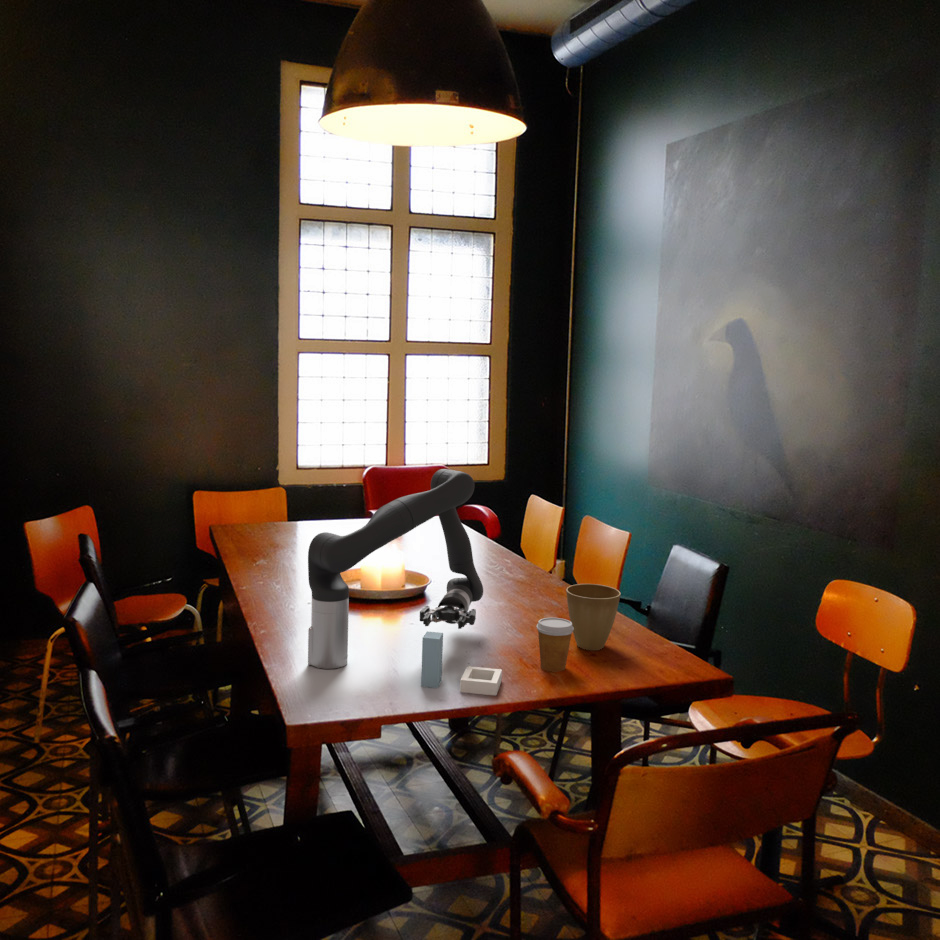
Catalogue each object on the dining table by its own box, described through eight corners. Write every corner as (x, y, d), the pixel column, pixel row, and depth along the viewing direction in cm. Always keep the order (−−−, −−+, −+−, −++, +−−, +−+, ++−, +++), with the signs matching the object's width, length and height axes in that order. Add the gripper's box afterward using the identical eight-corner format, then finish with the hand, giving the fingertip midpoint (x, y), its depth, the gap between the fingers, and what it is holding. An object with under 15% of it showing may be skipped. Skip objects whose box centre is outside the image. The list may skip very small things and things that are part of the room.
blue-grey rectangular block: (421, 686, 208) (422, 637, 207) (425, 679, 213) (427, 631, 212) (437, 687, 208) (439, 639, 206) (441, 680, 212) (443, 632, 211)
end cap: (460, 692, 205) (460, 679, 205) (466, 677, 215) (467, 666, 214) (496, 695, 204) (496, 683, 204) (501, 681, 213) (501, 669, 213)
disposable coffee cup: (568, 661, 230) (571, 617, 228) (574, 674, 220) (576, 628, 219) (532, 660, 229) (534, 616, 228) (536, 673, 220) (538, 627, 218)
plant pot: (554, 640, 247) (557, 585, 245) (600, 636, 252) (603, 582, 250) (578, 657, 233) (582, 599, 231) (627, 652, 239) (630, 595, 237)
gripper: (428, 590, 237) (415, 607, 221) (480, 594, 234) (471, 611, 218) (428, 617, 238) (415, 636, 222) (480, 621, 235) (470, 640, 219)
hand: (442, 623), depth 220 cm, fingers open, 8 cm apart
